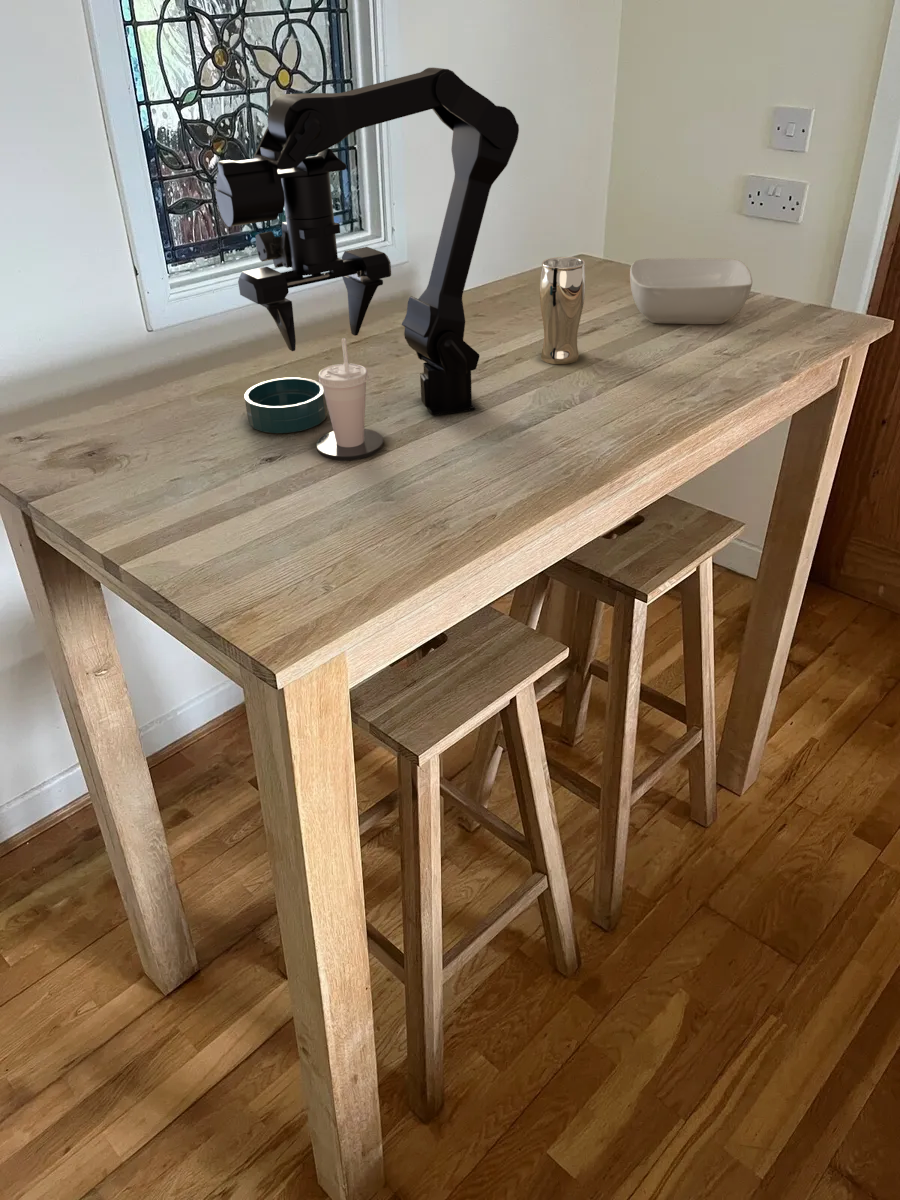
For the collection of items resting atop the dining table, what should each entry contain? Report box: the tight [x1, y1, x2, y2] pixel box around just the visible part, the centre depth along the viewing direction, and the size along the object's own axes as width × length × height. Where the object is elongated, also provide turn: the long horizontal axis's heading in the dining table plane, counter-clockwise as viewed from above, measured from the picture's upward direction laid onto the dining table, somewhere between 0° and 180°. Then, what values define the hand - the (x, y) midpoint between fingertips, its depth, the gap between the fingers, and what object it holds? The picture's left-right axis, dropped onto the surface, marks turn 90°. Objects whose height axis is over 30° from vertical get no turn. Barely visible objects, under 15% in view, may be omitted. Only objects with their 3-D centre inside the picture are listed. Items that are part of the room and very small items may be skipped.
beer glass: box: [539, 256, 586, 365], centre depth 143 cm, size 7×7×15 cm
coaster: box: [315, 428, 385, 461], centre depth 122 cm, size 9×9×1 cm
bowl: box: [629, 257, 753, 325], centre depth 162 cm, size 20×20×8 cm
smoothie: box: [318, 337, 369, 447], centre depth 118 cm, size 6×6×14 cm
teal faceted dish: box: [243, 377, 329, 434], centre depth 130 cm, size 11×11×4 cm
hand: (324, 342), depth 118 cm, fingers open, 9 cm apart
